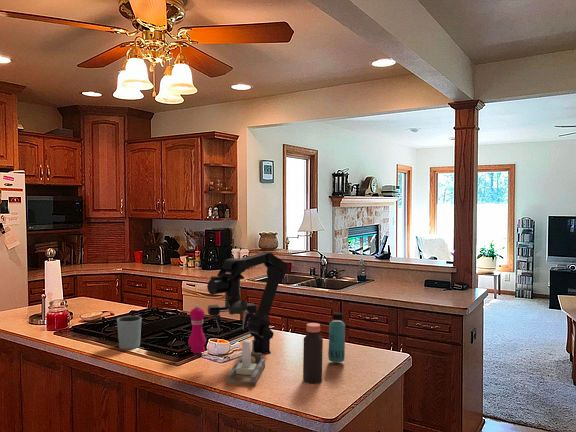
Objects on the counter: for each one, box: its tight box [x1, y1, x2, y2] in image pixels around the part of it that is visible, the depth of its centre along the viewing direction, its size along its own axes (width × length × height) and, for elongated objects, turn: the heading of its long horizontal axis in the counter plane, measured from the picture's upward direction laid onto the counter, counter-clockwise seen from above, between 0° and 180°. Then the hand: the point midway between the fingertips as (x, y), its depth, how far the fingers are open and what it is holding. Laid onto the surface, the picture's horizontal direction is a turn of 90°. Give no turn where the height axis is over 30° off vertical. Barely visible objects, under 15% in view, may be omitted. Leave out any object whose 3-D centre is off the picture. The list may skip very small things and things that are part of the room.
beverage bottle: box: [327, 311, 346, 363], centre depth 189 cm, size 6×7×20 cm
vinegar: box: [302, 322, 324, 385], centre depth 171 cm, size 7×7×20 cm
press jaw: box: [236, 339, 257, 375], centre depth 174 cm, size 6×6×11 cm
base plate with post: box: [226, 351, 266, 387], centre depth 175 cm, size 18×10×6 cm, turn 172°
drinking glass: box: [116, 315, 143, 350], centre depth 206 cm, size 10×10×12 cm
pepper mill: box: [187, 303, 207, 353], centre depth 200 cm, size 7×7×20 cm
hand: (232, 330), depth 190 cm, fingers open, 9 cm apart
